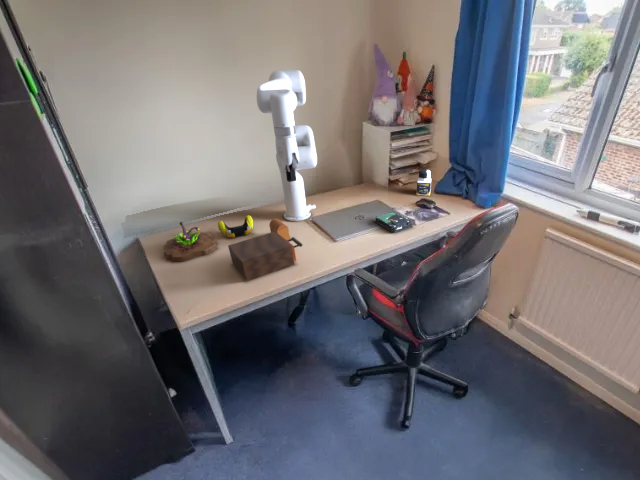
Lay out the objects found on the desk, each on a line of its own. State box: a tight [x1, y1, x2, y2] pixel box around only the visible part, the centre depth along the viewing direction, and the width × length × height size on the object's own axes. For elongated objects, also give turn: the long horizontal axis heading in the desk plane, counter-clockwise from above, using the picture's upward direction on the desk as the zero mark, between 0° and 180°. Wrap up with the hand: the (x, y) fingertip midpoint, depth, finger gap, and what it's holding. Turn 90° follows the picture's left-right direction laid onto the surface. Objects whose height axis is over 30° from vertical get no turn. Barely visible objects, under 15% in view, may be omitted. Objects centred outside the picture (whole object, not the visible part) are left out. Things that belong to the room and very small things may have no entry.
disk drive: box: [374, 211, 414, 234], centre depth 171 cm, size 10×3×15 cm
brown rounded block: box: [268, 218, 291, 240], centre depth 161 cm, size 5×8×8 cm, turn 36°
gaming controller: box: [217, 215, 254, 238], centre depth 166 cm, size 15×6×10 cm
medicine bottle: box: [415, 168, 432, 196], centre depth 199 cm, size 7×7×12 cm
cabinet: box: [227, 232, 295, 282], centre depth 142 cm, size 19×15×8 cm
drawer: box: [278, 233, 303, 263], centre depth 144 cm, size 22×14×6 cm, turn 126°
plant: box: [163, 221, 218, 263], centre depth 154 cm, size 20×20×11 cm
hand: (291, 180), depth 148 cm, fingers closed
